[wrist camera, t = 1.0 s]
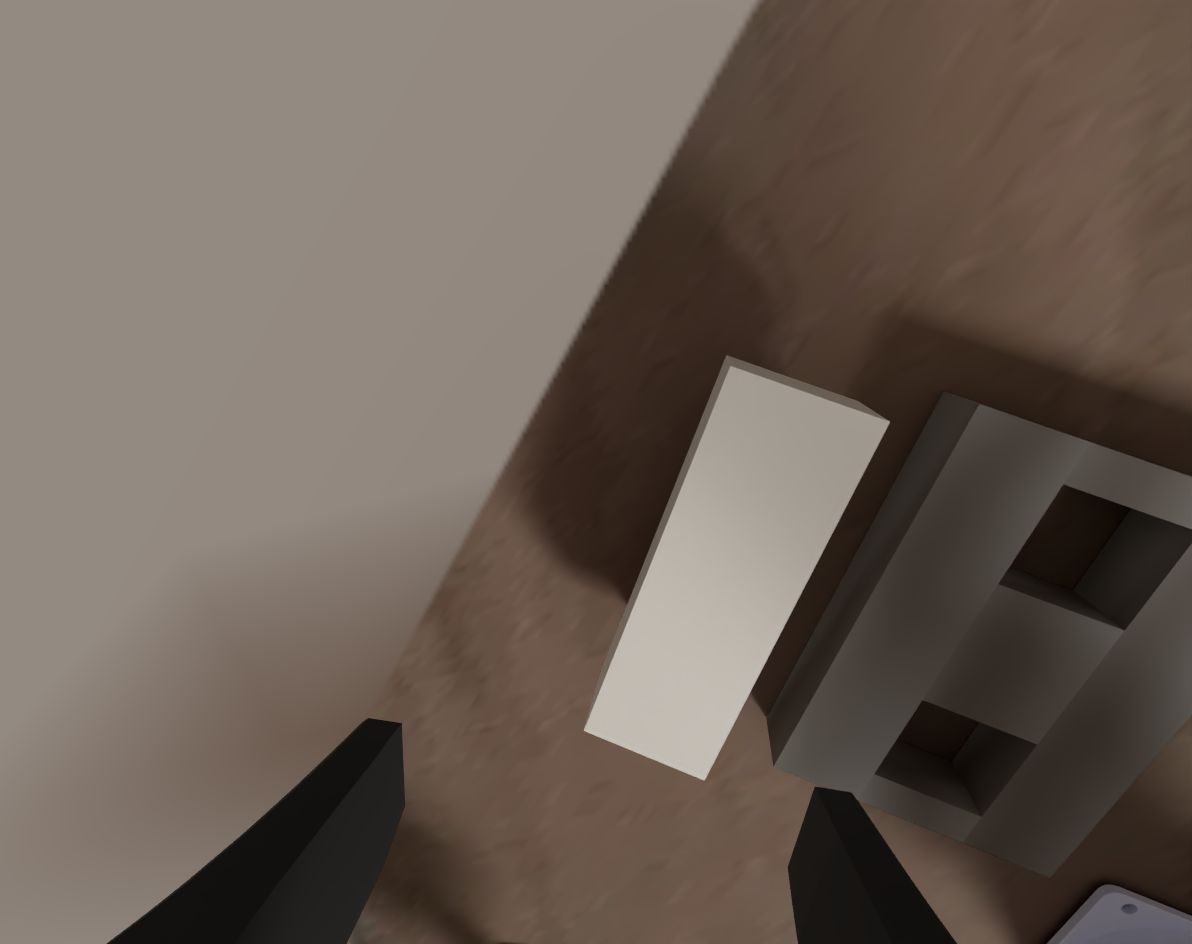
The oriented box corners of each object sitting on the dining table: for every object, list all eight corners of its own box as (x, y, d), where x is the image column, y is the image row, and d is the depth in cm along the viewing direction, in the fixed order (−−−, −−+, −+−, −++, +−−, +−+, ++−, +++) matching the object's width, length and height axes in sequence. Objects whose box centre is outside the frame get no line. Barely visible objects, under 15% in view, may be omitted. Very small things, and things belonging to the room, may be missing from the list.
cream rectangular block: (838, 388, 19) (890, 421, 13) (704, 670, 23) (704, 780, 17) (723, 348, 19) (730, 365, 14) (611, 633, 23) (583, 730, 18)
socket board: (1263, 500, 17) (1351, 531, 15) (1012, 816, 22) (1049, 878, 20) (943, 390, 18) (979, 404, 16) (766, 718, 23) (773, 766, 20)
